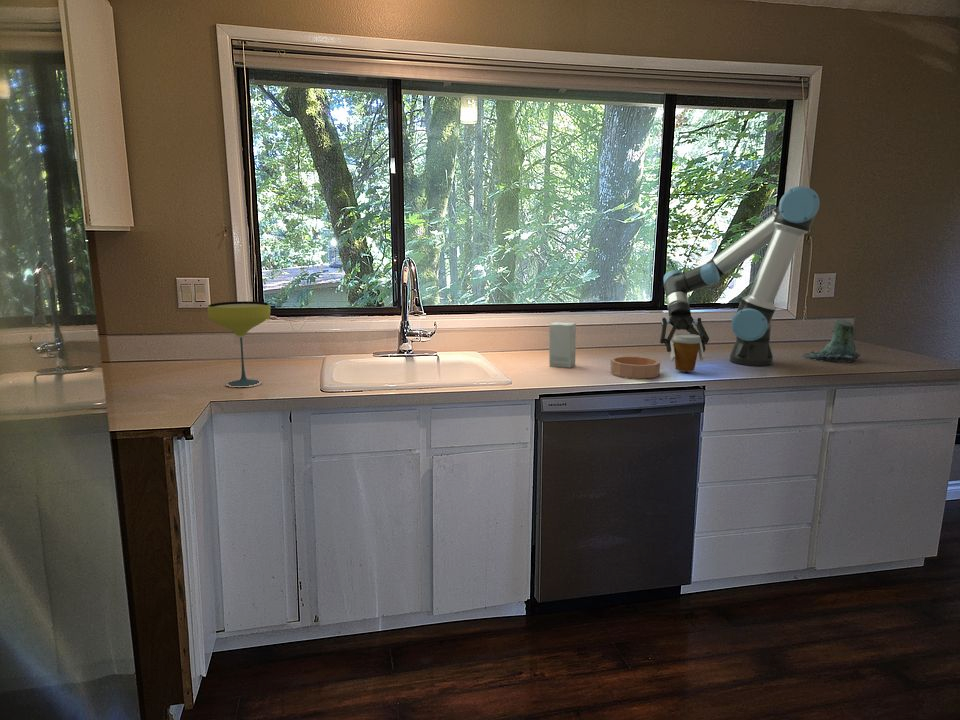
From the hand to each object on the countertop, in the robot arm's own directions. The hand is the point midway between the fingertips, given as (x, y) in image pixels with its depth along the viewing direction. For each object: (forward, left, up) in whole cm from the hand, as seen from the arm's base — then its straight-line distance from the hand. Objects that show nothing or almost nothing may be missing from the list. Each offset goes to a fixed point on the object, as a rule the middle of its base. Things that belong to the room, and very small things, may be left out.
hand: (687, 359), depth 229 cm
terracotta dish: (+18, +1, -5) cm, 19 cm away
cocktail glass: (+144, +27, -5) cm, 147 cm away
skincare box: (+42, -10, -6) cm, 44 cm away
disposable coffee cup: (0, -3, -5) cm, 6 cm away
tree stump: (-65, -33, -6) cm, 73 cm away
